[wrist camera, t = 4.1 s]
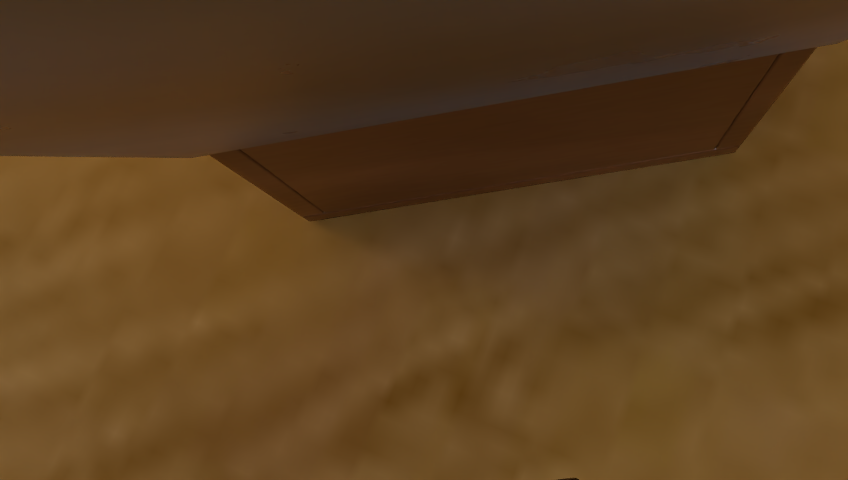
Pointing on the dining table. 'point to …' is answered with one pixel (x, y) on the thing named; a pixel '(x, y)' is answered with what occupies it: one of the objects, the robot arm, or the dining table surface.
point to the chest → (521, 140)
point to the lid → (342, 62)
